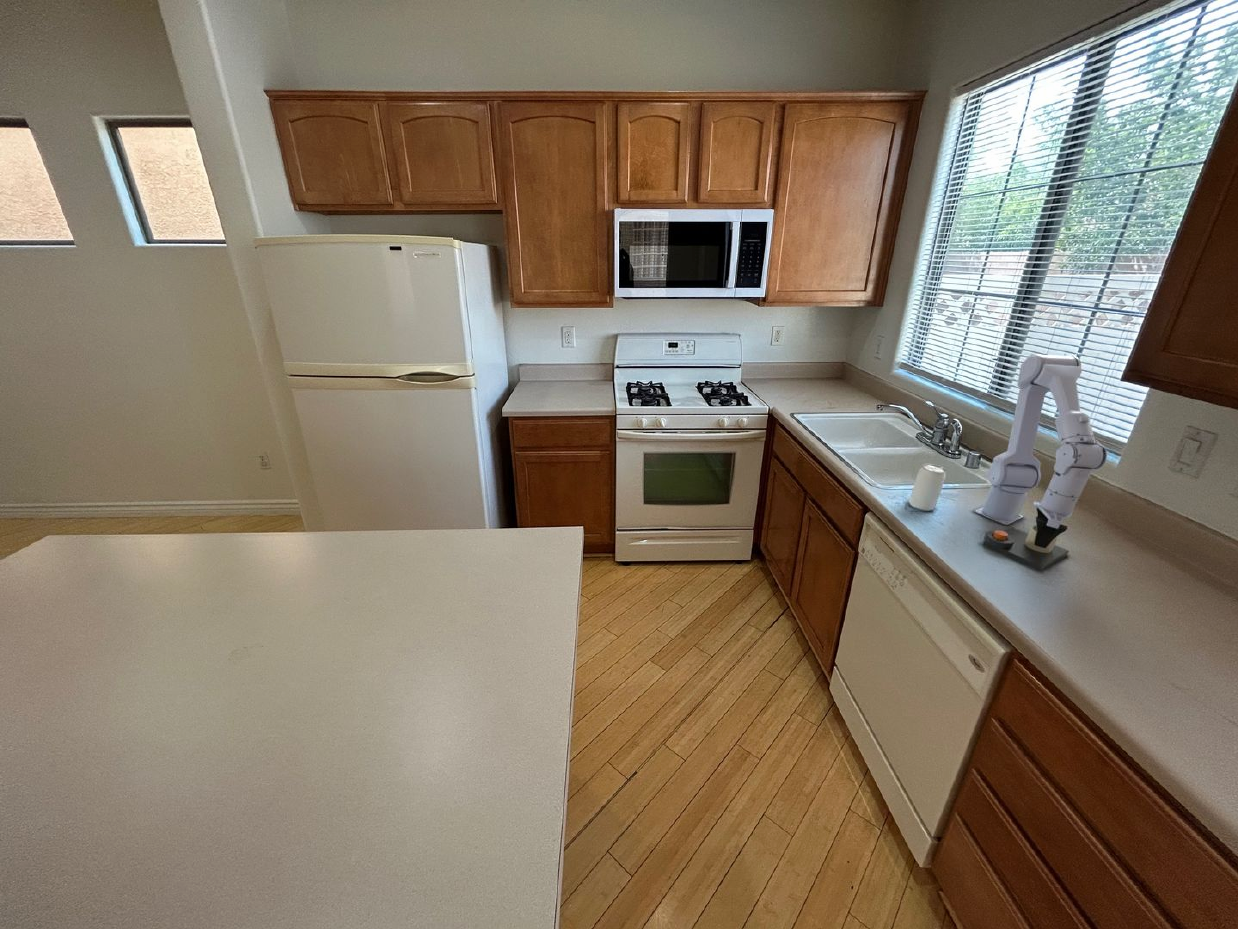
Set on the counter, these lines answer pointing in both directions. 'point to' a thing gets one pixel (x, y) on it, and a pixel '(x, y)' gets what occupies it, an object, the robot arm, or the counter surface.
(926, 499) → the can
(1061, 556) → the scale
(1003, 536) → the tare button
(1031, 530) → the bowl
